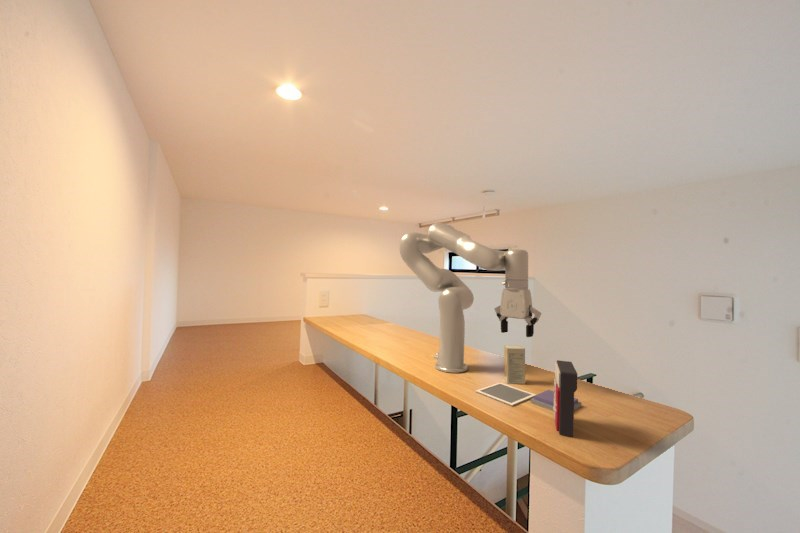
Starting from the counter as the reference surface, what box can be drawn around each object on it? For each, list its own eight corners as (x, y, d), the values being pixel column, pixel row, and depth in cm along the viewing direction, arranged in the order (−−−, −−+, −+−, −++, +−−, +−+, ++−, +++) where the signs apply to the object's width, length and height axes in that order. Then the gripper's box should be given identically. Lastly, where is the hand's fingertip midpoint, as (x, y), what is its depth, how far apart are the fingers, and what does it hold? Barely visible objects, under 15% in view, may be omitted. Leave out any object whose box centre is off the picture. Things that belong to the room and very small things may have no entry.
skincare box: (521, 380, 114) (522, 345, 115) (525, 384, 110) (526, 348, 110) (503, 379, 115) (504, 344, 115) (506, 383, 111) (506, 347, 111)
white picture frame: (475, 392, 102) (475, 390, 102) (500, 383, 110) (500, 382, 110) (512, 406, 92) (512, 404, 92) (536, 396, 100) (536, 394, 100)
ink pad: (530, 402, 95) (530, 395, 95) (547, 394, 101) (547, 388, 101) (565, 415, 87) (565, 407, 87) (581, 406, 93) (581, 399, 93)
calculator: (552, 415, 87) (553, 359, 87) (570, 418, 85) (571, 361, 85) (555, 434, 77) (557, 371, 77) (576, 438, 75) (577, 373, 75)
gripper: (489, 284, 117) (489, 331, 117) (534, 286, 104) (534, 339, 103) (501, 284, 122) (501, 329, 122) (546, 285, 108) (546, 337, 108)
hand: (516, 334), depth 112 cm, fingers open, 9 cm apart
